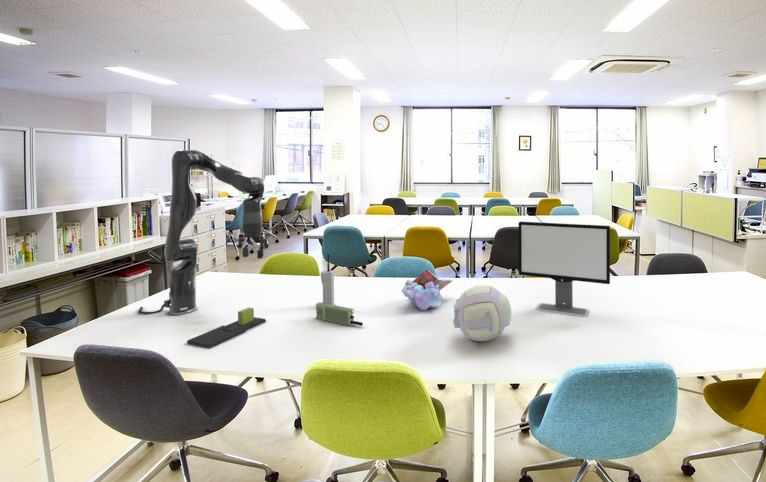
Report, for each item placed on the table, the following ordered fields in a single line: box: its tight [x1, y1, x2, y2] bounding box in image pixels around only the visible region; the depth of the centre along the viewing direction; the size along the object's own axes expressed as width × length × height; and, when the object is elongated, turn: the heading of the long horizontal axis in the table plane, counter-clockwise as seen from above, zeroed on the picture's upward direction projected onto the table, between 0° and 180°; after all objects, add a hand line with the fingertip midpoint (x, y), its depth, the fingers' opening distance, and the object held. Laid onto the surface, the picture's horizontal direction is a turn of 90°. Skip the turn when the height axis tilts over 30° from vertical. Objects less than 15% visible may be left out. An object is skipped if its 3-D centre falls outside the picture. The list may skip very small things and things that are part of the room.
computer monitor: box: [518, 221, 611, 317], centre depth 168 cm, size 41×8×40 cm, turn 68°
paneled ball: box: [452, 284, 512, 342], centre depth 140 cm, size 21×22×20 cm
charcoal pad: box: [186, 324, 246, 349], centre depth 142 cm, size 12×14×1 cm
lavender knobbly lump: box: [401, 269, 454, 311], centre depth 176 cm, size 20×22×18 cm
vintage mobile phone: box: [320, 253, 335, 305], centre depth 174 cm, size 4×5×25 cm
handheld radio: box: [315, 302, 363, 327], centre depth 156 cm, size 7×3×25 cm
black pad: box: [224, 307, 266, 332], centre depth 152 cm, size 10×13×6 cm
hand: (252, 257), depth 164 cm, fingers open, 8 cm apart
